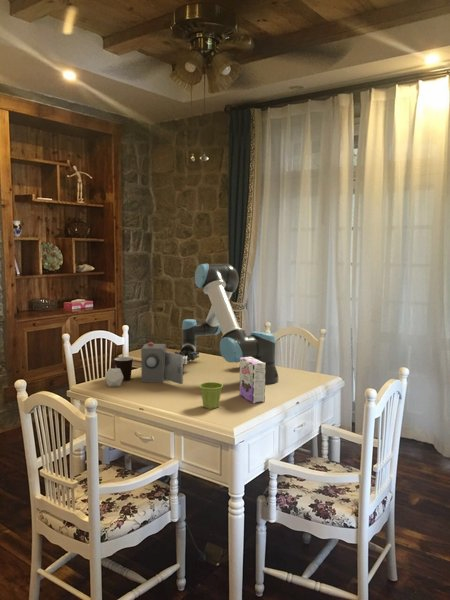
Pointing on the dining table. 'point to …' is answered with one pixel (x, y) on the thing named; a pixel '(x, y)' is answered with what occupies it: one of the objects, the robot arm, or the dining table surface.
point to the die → (114, 377)
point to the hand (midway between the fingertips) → (184, 361)
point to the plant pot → (211, 394)
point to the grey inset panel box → (152, 362)
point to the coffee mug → (124, 366)
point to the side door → (173, 367)
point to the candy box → (252, 379)
